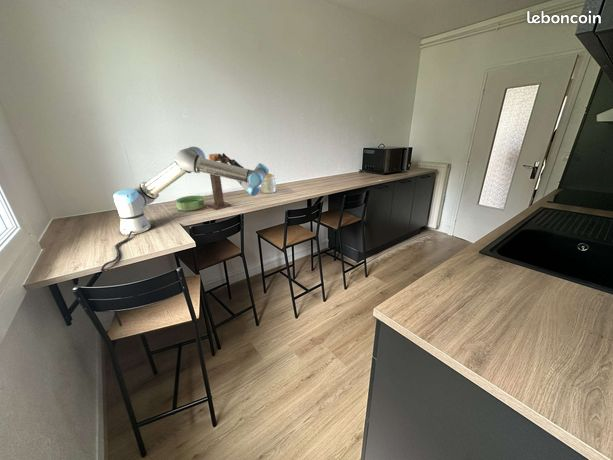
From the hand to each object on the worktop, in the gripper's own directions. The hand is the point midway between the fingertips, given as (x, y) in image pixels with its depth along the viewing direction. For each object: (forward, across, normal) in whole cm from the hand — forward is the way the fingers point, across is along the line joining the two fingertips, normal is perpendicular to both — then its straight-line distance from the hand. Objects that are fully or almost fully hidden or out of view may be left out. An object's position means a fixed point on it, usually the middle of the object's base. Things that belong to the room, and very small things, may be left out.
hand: (220, 155), depth 166 cm
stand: (-9, 0, -39) cm, 40 cm away
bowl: (+4, -14, -46) cm, 49 cm away
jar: (-7, +51, -40) cm, 66 cm away
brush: (0, 0, -4) cm, 4 cm away
